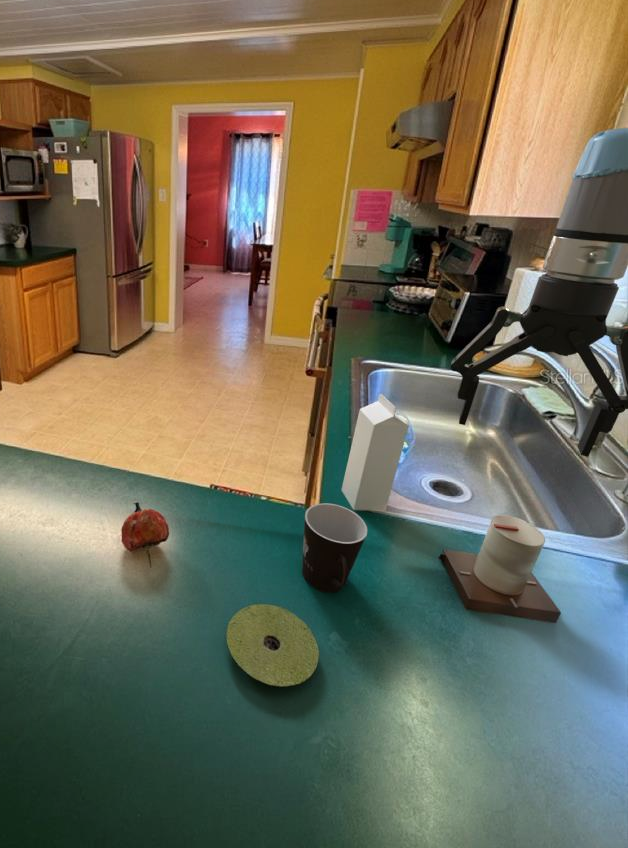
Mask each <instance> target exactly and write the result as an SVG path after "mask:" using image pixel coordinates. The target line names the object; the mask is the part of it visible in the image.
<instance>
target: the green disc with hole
mask: <svg viewBox="0 0 628 848" xmlns="http://www.w3.org/2000/svg"><path fill="white" fill-rule="evenodd" d="M226 643H227V648H228V649H229V652H230V655H231V657H232V658H233V661H235V662H236V663H237V665H238V666H239V668H241V669H242V670H243V672H246V674H248V675H249V676H250V677H251V678H253V679H255V680H257V681H259V682H261V683H264V684H266V685H268V686H275V687H288V686H289V687H290V686H296V685H300V684H301V683H304V682H305V681H307V680H308V679H309V678H310V677H311V676H312V675H313V673H314V672H315V671H316V669H317V666H318V663H319V657H320V656H319V655H320V652H319V645H318V643H317V639H316V638H315V636H314V634H313V631H312V630H311V629H310V628H309V626H308V625H307V623H306V622H305V621H303V620H302V619H301V618H300V617H299V616H297V615H296V614H295V613H293V612H292V611H289V610H288V609H286V608H284V607H281V606H277V605H274V604H265V603H264V604H263V603H259V604H251V605H249V606H245V607H243V608H241V609H240V610H238V611H237V612H236V613H234V615H232V617H231V619H230V620H229V623H228V625H227V628H226Z"/></svg>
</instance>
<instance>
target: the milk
mask: <svg viewBox="0 0 628 848" xmlns="http://www.w3.org/2000/svg"><path fill="white" fill-rule="evenodd" d="M396 412H397V407H396V406H395V405H394V404H393V403H392V402H391V401H390V400H388V398H387V397H385V396H384V395H383V394H382V393H379V395H378V398H377V400H376V401H375V402H372V403H370V404H368V405H365V406H363V407H360V408H359V411H358V416H357V420H356V424H355V429H354V433H353V434H354V435H353V438H352V442H351V447H350V450H349V456H348V460H347V464H346V469H345V473H344V477H343V482H342V486H341V492H342V494H343V496H344V497H345V498H346V501H347V502H348V504H349V505H350V506H351V509H352V511H382V512H383V511H387V508H388V504H389V500H390V496H391V492H392V489H393V485H394V482H395V478H396V474H397V471H398V467H399V463H400V461H401V457H402V454H403V453H402V452H403V448H404V445H405V441H406V438H407V435H408V431H409V427H410V425H408V423H407V422H406V421H405V420H403V419H402V417H400V416H399V415H398V414H397V413H396Z"/></svg>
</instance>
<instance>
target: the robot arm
mask: <svg viewBox="0 0 628 848" xmlns="http://www.w3.org/2000/svg"><path fill="white" fill-rule="evenodd" d="M571 179H572V181H571V183H570V186H569V188H568V189H569V190H568V193H567V195H566V199H565V201H564V204H563V206H562V209H561V213H560V216H559V218H558V222H557V224H556V229H555V232H554V234H553V236H552V239H551V242H550V245H549V248H548V250H547V253H546V255H545V258H544V261H543V264H542V269H543V270H544V271H546V273H544V274H542V275H541V276H539V277H538V279H537V281H536V285H535V287H534V290H533V293H532V296H531V299H530V302H529V305H528V307H527V308H526V309H525V311H524V312H520V311H516V310H512V309H508V307H506V306H503V305H502V306H499V307H498V308H497V309H496V311H495V314H494V316H493V318H492V320H491V321H490V322H489V323H488V324H487V326H485V327H484V328H483V329H482V330H481V331H480V332H479V333H478V334H477V335H476V336H475V337H474V338H473V339H472V340H471V341H470V342H469V343H468V344H467V345H465V347H464V348H462V350H461V351H460V352H459V353H458V354H457V355H456V356H455V357H453V359H451V362H450V370H451V371H452V372H456V373H458V374H459V375H461V381H460V382H459V383H460V384H459V387H458V390H457V399H459V400H463V401H464V402H463V404H462V407H461V410H460V413H459V414H460V415H459V418H458V424H459V425H462V426H466V423H467V421H468V417H469V414H470V411H471V409H472V404H473V402H474V398H475V396H476V393H477V389H478V388H479V387H478V386H479V384H480V376H479V375H481V374H483V373H484V372H486V371H488V370H490V369H491V368H493V367H495V366H497V365H499V364H500V363H502V362H504V361H506V360H507V359H509V358H511V357H513V356H515V355H516V354H518V353H520V352H524V351H526V350H527V349H529V348H532V349H534V350H536V352H540V353H554V354H556V355H558V356H563V357H569V356H573V355H576V354H578V356H579V357H580V359H581V361H582V363H583V364H584V366H585V368H586V369H587V371H588V373H589V375H590V376H591V377H592V379H593V381H594V383H595V384H596V386H597V387H598V389H599V391H600V393H601V394H602V396H603V398H604V400H605V401H606V402H603V401H599V400H597V401H595V404H594V407H593V409H592V411H591V413H590V416H589V418H588V421H587V423H586V425H585V428H584V430H583V432H582V435H581V437H580V439H579V441H578V444H577V446H576V447H577V449H578V452H579V454H580V456H583V457H586V458H589V457H590V454H591V452H592V450H593V447H594V446H595V443H596V441H597V439H598V436H599V435H600V433H604V434H609V433H610V432H612V430H613V428H614V426H615V424H616V422H617V419H618V418H619V415H620V414H622V413H624V412H625V411H626V410H628V324H623V325H621V326H617V325H616V326H615V325H607V319H608V317H609V313H610V311H611V309H612V307H613V304H614V302H615V299H616V297H617V294H618V291H619V289H620V287H619V286H618V284H617V283H615V281H617V280H618V281H619V280H620V279H621V280H622V278H623V279H624V278H625V274H626V271H627V269H628V127H625V128H612V129H608V130H602V131H600V132H597V133H595V134H594V135H592V136H591V138H590V139H589V140H588V142H587V143H586V146H585V148H584V150H583V151H582V153H581V156H580V158H579V161H578V163H577V165H576V168H575V170H574V172H573V174H572V176H571ZM514 323H519V324H520V326H521V329H522V331H523V332H521V333H519V334H518V335H516V336H514V337H513V338H512V339H511V340H509V341H508V342H506V343H504V344H503V345H501V346H499V347H498V348H496V349H494V350H492V351H490V352H489V353H487V354H485V355H484V356H482V357H480V358H478V359H477V360H475V361H474V362H472V363H470V364H468V362H470V361H471V360H472V359H473V358H474V357H475V356H476V355H477V354H478V353H479V352H480V351H481V350H482V349H484V347H485V346H486V345H488V344H489V343H490V342H491V340H493V339H494V338H495V337H496V336H497V335H498V334H499V333H500V332H501V331H502V329H503V328H509V327H511V326H512V325H513V324H514ZM605 336H607V337H608V339H609V342H610V343H611V344H612V345H614V346H615V350H616V355H617V360H618V364H619V368H620V373H621V377H622V382H623V386H624V392H625V395H619V394H618V393H617V391H616V389H615V388H614V386H613V385H612V382H611V381H610V379H609V378H608V376H607V374H606V373H605V370H604V369H603V367H602V366H601V364H600V362H599V361H598V359H597V357H596V355H595V354H594V352H593V351H592V349H591V347H590V346H592V345H593V344H594V343H596V342H598V341H599V340H601V339H602V338H604V337H605Z"/></svg>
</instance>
